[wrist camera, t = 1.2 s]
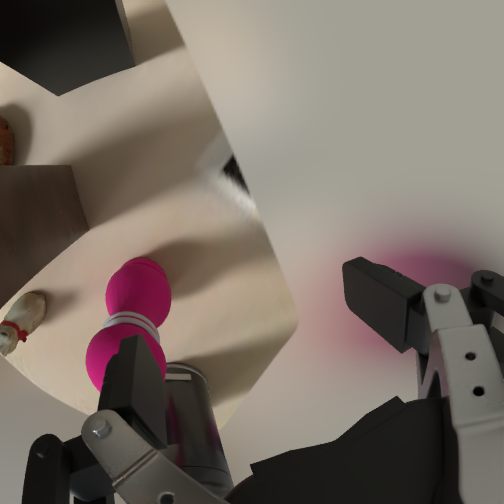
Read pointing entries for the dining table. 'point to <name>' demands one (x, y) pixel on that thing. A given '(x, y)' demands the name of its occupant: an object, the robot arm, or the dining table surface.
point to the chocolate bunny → (21, 321)
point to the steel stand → (65, 41)
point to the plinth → (35, 221)
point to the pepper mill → (131, 315)
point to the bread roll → (6, 143)
